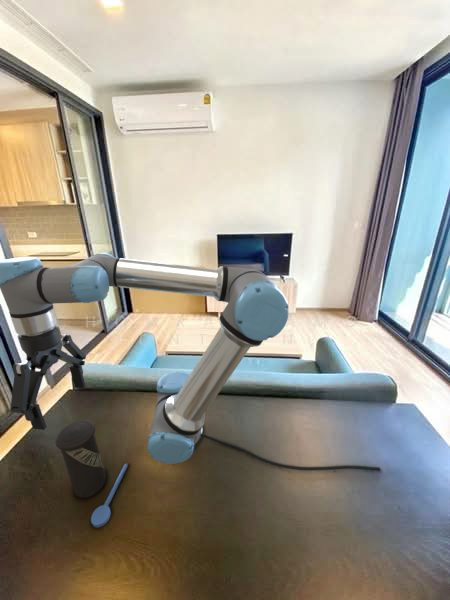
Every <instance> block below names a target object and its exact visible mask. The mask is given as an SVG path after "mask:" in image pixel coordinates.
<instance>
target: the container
mask: <svg viewBox="0 0 450 600" xmlns="http://www.w3.org/2000/svg"><path fill="white" fill-rule="evenodd" d="M95 432H96V426H95V424H94V422H93V421H91V420H88V419H81V420H76V421H74V422H72V423H70V424H68V425H66V426H65V427H64V428H62V429H61V430H60V431H59V432H58V433H57V435H56V438H55V440H54V441H55V447H57V448H58V449H59V450H60V452H61V454H62V458H63V461H64V464H65V467H66V470H67V474H68V477H69V480H70V484H71V486H72V490H73V492H74V495H76V496H77V497H79V498H81V499H84V498H90V497H92V496H94V495H96V494H97V493H98V492H100V491H101V490H102V488H103V487H104V485H105V484H106V480H107V474H106V470H105V467H104V464H103V460H102V456H101V454H100V450H99V446H98V443H97V439H96V436H95Z"/></svg>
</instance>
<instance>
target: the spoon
mask: <svg viewBox="0 0 450 600" xmlns="http://www.w3.org/2000/svg"><path fill="white" fill-rule="evenodd" d="M128 467H129V464H128V463H124V464H123V466H122V468H121V470H120V472H119V474H118V475H117V478H116V481H115V482H114V484H113V486H112V488H111V490H110V491H109V493H108V496H107V497H106V499H105V501H104V504H102V505H100V506H98V507H97V508H95V509H94V511H93V512H92V513H91V516H90V522H91V525H92V526H93V527H94V528H101V527H103V526H105V525H106V524H107V523H108V521H109V520H110V518H111V514H112V512H111V508H110V504H111V502H112V499H113V498H114V496H115V493H116V491H117V489H118V487H119V485H120V484H121V482H122V480H123V477H124V475H125V473H126V472H127V470H128Z"/></svg>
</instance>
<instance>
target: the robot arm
mask: <svg viewBox="0 0 450 600" xmlns="http://www.w3.org/2000/svg"><path fill="white" fill-rule="evenodd" d="M110 287H114V288H125V289H135V290H143V291H144V290H146V291H153V292H162V293H173V294H182V295H191V296H192V295H193V296H202V297H210V298H214V299H215V300H216V301H217V302H224V303H227V304H226V306H225V307H224V308H223V311H222V312H221V314H220V316H219V317H218V321H219V324H220V325H219V326H220V327H219V329H218V330H217V331H216V333H215V335H214V337H213V338H212V339H211V341H210V342H209V344H208V346H207V347H206V349H205V351H204V352H203V354H202V355H201V357H200V358H199V360H198V362H197V363H196V365H195V366H194V368H193V369H192V371H191V373H187V372H186V371H185V372H184V371H172V372H169V373H167V374H164V375H162V376H161V377H160V378H159V379H158V380H157V382H156V391H157V398H156V403H155V409H154V413H153V418H152V423H151V426H150V430H149V434H148V437H147V445H146V446H147V452H148V454H149V455H150V457H151V458H152V459H153V460H155V461H156V462H158V463H161V464H166V465H175V464H181V463H184V462H186V461H188V460H189V459H190V458H191V457H192V456H193V453H194V449H195V447H196V446H197V445H198V444H199V442H200V441H201V439H202V438H206V439H207V440H210V441H213V442H216V443H219V444H223V445H224V446H228V447H231V448H233V449H236V450H239V451H241V452H244V453H246V454H247V455H250V456H252V457H254V459H256V460H257V459H258V460H260V461H261V462H264V463H267V464H269V465H270V464H271V465H273V466H276V467H280V468H283V469H284V468H285V469H292V470H300V471H330V470H342V469H343V470H344V469H346V470H347V469H355V470H370V471H381V468H380V467H379V466H369V465H368V466H367V465H356V464H355V465H351V464H347V465H345V464H344V465H343V464H342V465H330V466H300V465H299V466H298V465H292V464H291V465H289V464H285V463H281V462H277V461H273V460H270V459H267V458H265V457H262V456H260V455H257V454H256V453H254V452H252V451H250V450H248V449H246V448H243V447H241V446H239V445H236V444H233V443H230V442H227V441H224V440H221V439H218V438H215V437H213V436H211V435H207V434H204V433H203V426H204V425H205V422H206V421H205V420H206V417H205V413H206V412H207V411H208V409H209V408H210V406H211V404H212V403H213V402H214V400H215V399H216V398H217V396H218V394H219V393H220V392H221V390H222V389H223V388H224V386H225V385H226V383H227V382H228V381H229V379H230V378H231V376H232V375H233V373H234V372H235V370H236V369H237V367H238V366H239V364H241V362H242V361H243V359H244V357H245V356H246V354H247V353H248V351H249V350H250V349H251V348H254V347H255V348H257V347H259V346H261V344H262V343H263V342H265V341H268V339H270V338H271V339H273V338H275V337H277V335H279V334H281V332H282V331H283V329H285V326H286V325H287V322H288V320H289V315H290V308H289V302H288V300H287V298H286V296H285V294H284V292H283V291H282V289H281V288H280V286H278V285H277V284H276V283H274V281H272V280H271V279H270V278H269V277H268V275H266V274H265V273H263V272H262V271H260V270H258V269H253V268H246V267H234V266H224V265H221V266H219V267H218V268H208V267H199V266H192V265H191V266H190V265H184V264H175V263H166V262H165V263H164V262H158V261H157V262H156V261H148V260H147V261H146V260H139V259H131V258H121V257H115V256H113V255H112V254H110V253H107V252H101V253H95V254H92V255H91V256H89V257H87V258H85V259H83V260H81V261H79V262H77V263H76V262H75V263H74V264H72V265H70V266H58V267H47V266H46V267H45V266H44V264H43V263H42V261H41V259H39V258H38V257H35V256H20V257H13V258H6V259H2V260H0V292H1V294H2V296H3V299H4V301H5V305H6V306H7V309H8V313H9V316H10V319H11V322H12V326H13V328H14V330H15V331H14V332H15V334H17V340H18V343H19V346H20V349H21V350H22V351H23V352H24V353H25V355H26V359H25V360H24V361H22V362H21V363H18V362H17V363H13V365H12V372H13V375H14V376H13V384H12V391H11V392H12V394H11V399H10V409H9V411H10V413H13V414H23V416H24V418H25V420H26V422H27V421H28V422H30V424H31V427H32V429H34V430H41V431H45V429H47V427H48V426H47V424H46V421H45V418H44V415H43V413H42V410H41V407H40V404H39V403H37V399H38V395H39V391H40V388H41V385H42V383H43V379H44V376H46V374H47V371H48V370H49V369H51V367H52V366H53V365H55V364H57V363H58V362H59V360H60V361H62V362H64V363H67V364H69V365H70V366H69V367H68V368H69V372H70V375H71V379H72V381H73V386H74V388H76V389H85V388H86V382H85V378H84V370H83V366H85V364H86V361H85V360H86V358H87V355H86V354H85V353H84V352H83V351H82V349H80V348H79V346H78V345H77V344H76V343H75V342H74V341H73V338H72V336H71V335H72V334H71V335H70V334H62V332H61V329H60V325H58V324H59V321H58V318H57V315H56V314H57V313H56V311H55V307H54V305H53V304H77V303H80V304H81V303H83V304H89V303H94V302H101V301H104V300H105V299H107V297H108V295H109V294H108V293H109V291H110ZM63 348H64V349H65V350H66V351H67V352H65V351H64V350H62V349H63ZM68 353H69V354H68ZM36 369H37V370H36Z"/></svg>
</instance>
